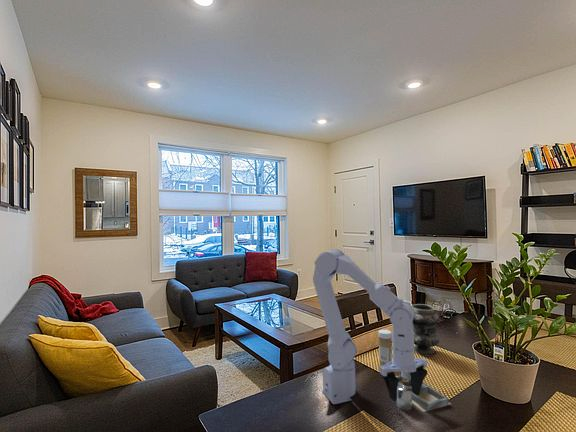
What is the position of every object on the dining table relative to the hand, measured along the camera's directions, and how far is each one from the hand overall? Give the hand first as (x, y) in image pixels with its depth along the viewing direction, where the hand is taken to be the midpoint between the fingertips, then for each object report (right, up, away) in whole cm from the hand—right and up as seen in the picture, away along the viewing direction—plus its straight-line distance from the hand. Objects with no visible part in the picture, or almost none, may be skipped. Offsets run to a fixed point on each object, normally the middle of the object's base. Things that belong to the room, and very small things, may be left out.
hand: (404, 396), depth 89 cm
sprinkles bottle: (+2, -4, +24) cm, 25 cm away
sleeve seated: (+5, -3, +10) cm, 12 cm away
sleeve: (0, -4, 0) cm, 4 cm away
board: (+6, -4, +6) cm, 10 cm away
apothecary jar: (+22, -4, +38) cm, 44 cm away
